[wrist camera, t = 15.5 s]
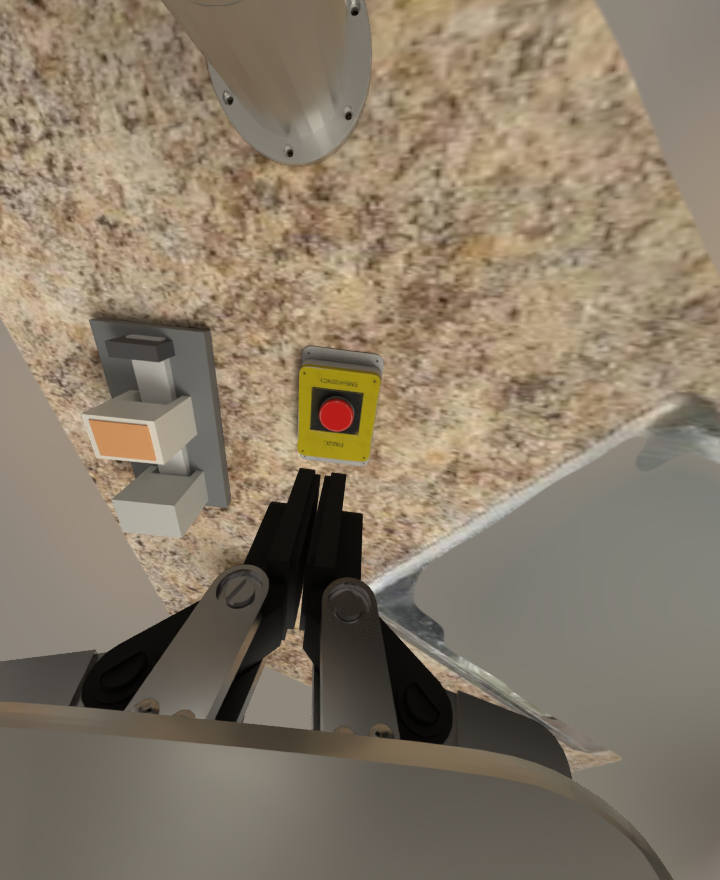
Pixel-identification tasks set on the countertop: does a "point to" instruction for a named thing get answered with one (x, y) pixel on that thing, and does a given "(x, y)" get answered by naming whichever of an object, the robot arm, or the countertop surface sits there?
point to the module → (140, 428)
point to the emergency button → (337, 405)
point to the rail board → (161, 382)
